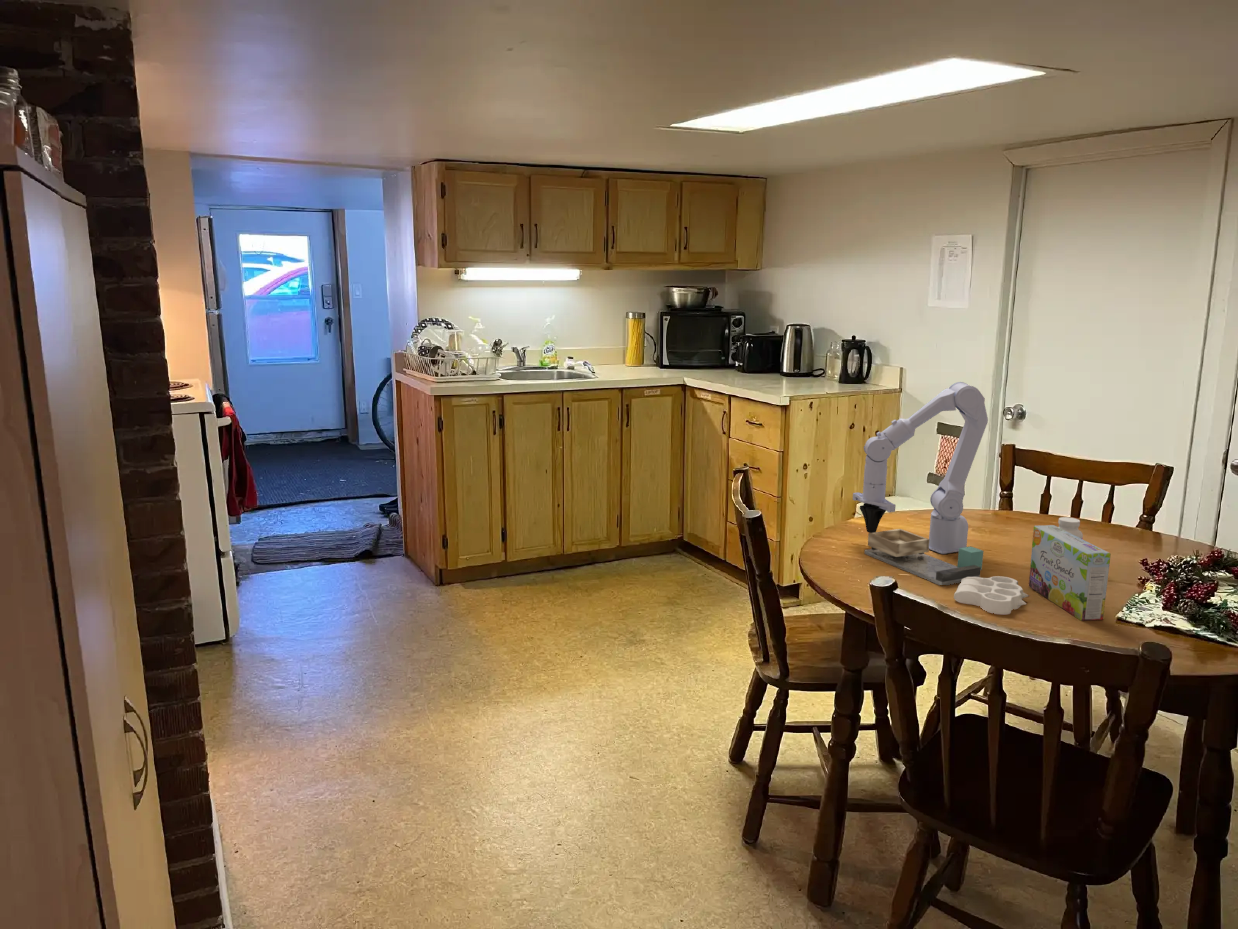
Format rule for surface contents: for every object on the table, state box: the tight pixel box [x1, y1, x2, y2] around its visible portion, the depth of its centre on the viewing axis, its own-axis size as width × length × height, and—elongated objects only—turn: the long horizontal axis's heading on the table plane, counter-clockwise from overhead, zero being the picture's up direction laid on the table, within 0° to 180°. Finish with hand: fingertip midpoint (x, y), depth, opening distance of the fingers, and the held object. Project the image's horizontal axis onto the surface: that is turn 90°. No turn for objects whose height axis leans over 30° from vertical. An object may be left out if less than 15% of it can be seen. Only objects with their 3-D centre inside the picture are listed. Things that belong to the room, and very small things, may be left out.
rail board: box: [864, 548, 982, 586], centre depth 218 cm, size 12×27×3 cm, turn 25°
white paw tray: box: [953, 575, 1030, 616], centre depth 196 cm, size 3×18×15 cm
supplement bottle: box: [1057, 516, 1084, 540], centre depth 215 cm, size 7×7×13 cm
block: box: [956, 546, 984, 571], centre depth 216 cm, size 4×4×5 cm
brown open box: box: [867, 528, 930, 559], centre depth 225 cm, size 11×11×4 cm
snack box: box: [1028, 524, 1111, 622], centre depth 193 cm, size 21×6×15 cm, turn 5°
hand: (871, 532), depth 234 cm, fingers closed
